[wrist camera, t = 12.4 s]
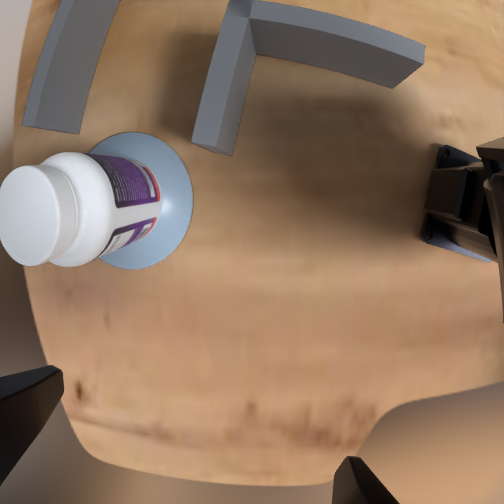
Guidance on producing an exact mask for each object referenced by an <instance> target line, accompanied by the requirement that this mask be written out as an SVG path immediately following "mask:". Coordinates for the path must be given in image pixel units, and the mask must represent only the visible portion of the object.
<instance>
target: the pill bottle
mask: <svg viewBox="0 0 504 504" xmlns="http://www.w3.org/2000/svg"><path fill="white" fill-rule="evenodd" d="M162 205H163V196H162V190H161V186H160V183H159V181H158V179H157V177H156V175H155V174H154V172H153V171H152V170H151V169H150V168H149V167H148V166H146V165H145V164H143V163H142V162H140V161H137V160H134V159H129V158H123V157H114V156H106V155H98V154H90V153H81V152H62V153H58V154H55V155H53V156H51V157H49V158H47V159H46V160H45V161H43V162H42V163H41V164H40V165H27V166H21V167H18V168H16V169H14V170H13V171H12V172H11V173H10V174H9V175H8V176H7V177H6V178H5V180H4V181H3V183H2V185H1V187H0V240H1V242H2V244H3V246H4V248H5V250H6V251H7V253H8V254H9V255H10V256H11V257H12V258H13V259H14V260H15V261H17V262H18V263H20V264H22V265H26V266H35V265H39V264H42V263H45V262H47V261H49V262H51V263H53V264H55V265H58V266H62V267H76V266H80V265H83V264H86V263H89V262H91V261H93V260H95V259H97V258H99V257H102V256H104V255H106V254H108V253H111V252H113V251H115V250H117V249H120V248H122V247H124V246H127V245H129V244H131V243H133V242H136V241H138V240H140V239H141V238H143V237H145V236H146V235H147V234H149V233H150V232H151V231H152V229H153V228H154V227H155V225H156V224H157V222H158V220H159V217H160V215H161V211H162Z"/></svg>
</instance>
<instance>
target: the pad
mask: <svg viewBox="0 0 504 504" xmlns="http://www.w3.org/2000/svg"><path fill="white" fill-rule="evenodd" d="M90 154H98V155H106V156H114V157H123V158H129V159H134V160H137V161H140V162H142V163H143V164H145V165H146V166H148V167H149V168H150V169H151V170H152V171H153V172H154V174H155V175H156V177H157V179H158V181H159V183H160V186H161V190H162V196H163V205H162V211H161V215H160V217H159V220H158V222H157V224H156V225H155V227H154V228H153V229H152V231H151V232H150V233H149V234H147V235H146V236H145V237H143V238H141V239H140V240H138V241H136V242H133V243H131V244H129V245H127V246H124V247H122V248H120V249H117V250H115V251H113V252H111V253H108V254H106V255H104V256H102V257H99V258H100V259H101V260H102V261H104V262H106V263H108V264H110V265H112V266H115V267H118V268H123V269H142V268H146V267H149V266H152V265H154V264H157V263H158V262H160V261H162V260H163V259H165V258H166V257H167V256H169V255H170V254H171V253H172V252H173V251H174V250H175V249H176V248H177V247H178V245H179V244H180V242H181V241H182V239H183V238H184V236H185V234H186V232H187V229H188V227H189V224H190V221H191V217H192V211H193V190H192V184H191V180H190V176H189V174H188V171H187V169H186V167H185V165H184V163H183V161H182V160H181V158H180V157H179V156H178V154H177V153H176V152H175V151H174V150H173V149H172V148H171V147H170V146H169V145H168V144H166V143H165V142H164V141H162V140H160V139H158V138H156V137H153V136H151V135H148V134H144V133H138V132H128V133H121V134H117V135H114V136H112V137H109V138H107V139H106V140H104V141H102V142H101V143H99V144H98V145H97V146H96V147H94V148H93V149H92V150H91V151H90Z"/></svg>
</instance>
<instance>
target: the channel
mask: <svg viewBox="0 0 504 504" xmlns="http://www.w3.org/2000/svg"><path fill="white" fill-rule="evenodd" d="M119 2H120V0H62V1H61V4H60V6H59V8H58V10H57V13H56V15H55V18H54V20H53V22H52V25H51V28H50V30H49V33H48V35H47V38H46V41H45V44H44V46H43V49H42V52H41V55H40V58H39V61H38V64H37V67H36V71H35V74H34V77H33V81H32V85H31V88H30V92H29V96H28V100H27V104H26V108H25V112H24V117H23V121H22V126H26V127H33V128H40V129H46V130H52V131H58V132H64V133H73V134H79V132H80V127H81V123H82V118H83V114H84V110H85V105H86V101H87V98H88V94H89V90H90V86H91V83H92V79H93V76H94V72H95V69H96V66H97V63H98V59H99V56H100V53H101V50H102V47H103V44H104V41H105V38H106V36H107V33H108V30H109V27H110V25H111V22H112V20H113V17H114V14H115V12H116V9H117V7H118V5H119ZM256 54H258V55H264V56H270V57H275V58H281V59H286V60H291V61H295V62H300V63H305V64H309V65H313V66H318V67H322V68H326V69H330V70H333V71H337V72H341V73H345V74H348V75H352V76H355V77H358V78H362V79H365V80H368V81H371V82H374V83H377V84H380V85H383V86H386V87H389V88H392V89H393V88H394V87H396V86H397V85H398V84H399V83H401V82H402V81H403V80H404V79H406V78H407V77H408V76H409V75H411V74H412V73H413V72H414V71H416V70H417V69H418V68H419V67H421V66H422V65H423V64H424V54H425V45H423V44H421V43H419V42H416V41H414V40H411V39H409V38H406V37H403V36H401V35H398V34H395V33H393V32H390V31H387V30H384V29H381V28H378V27H375V26H372V25H369V24H366V23H362V22H359V21H355V20H352V19H348V18H345V17H341V16H337V15H333V14H329V13H325V12H321V11H316V10H312V9H307V8H302V7H297V6H291V5H286V4H280V3H273V2H266V1H259V0H229V3H228V6H227V9H226V13H225V16H224V19H223V22H222V25H221V29H220V32H219V35H218V39H217V42H216V46H215V49H214V53H213V56H212V60H211V63H210V67H209V71H208V74H207V78H206V82H205V86H204V90H203V94H202V98H201V102H200V106H199V110H198V114H197V118H196V122H195V127H194V131H193V135H192V140H191V142H192V143H194V144H196V145H198V146H201V147H203V148H205V149H207V150H209V151H211V152H215V153H220V154H226V155H231V156H232V154H233V150H234V145H235V141H236V136H237V132H238V128H239V123H240V119H241V115H242V110H243V106H244V102H245V98H246V93H247V89H248V85H249V81H250V77H251V73H252V69H253V65H254V61H255V57H256Z"/></svg>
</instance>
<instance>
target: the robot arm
mask: <svg viewBox="0 0 504 504" xmlns="http://www.w3.org/2000/svg"><path fill="white" fill-rule="evenodd" d="M476 149H477V152H478V155H479V157H480V158H481V160H480V159H478V158H476V157H474V156H472V155H469V154H467V153H465V152H463V151H460V150H458V149H456V148H454V147H451V146H449V145H443V146H441V147H440V148H439V150H438V155H437V161H436V166H435V170H433V171H432V174H431V179H430V184H429V189H428V193H427V198H426V202H425V207H424V208H425V211H426V213H425V217H424V221H423V225H422V229H421V233H420V237H421V240H422V241H423V242H425V243H427V244H431V245H434V246H437V247H441V248H444V249H447V250H451V251H454V252H457V253H460V254H464V255H467V256H470V257H473V258H476V259H479V260H483V261H486V262H491V261H495V262H497V263H498V265H499V273H500V282H501V293H502V306H503V323H504V137H502V138H499V139H497V140H494V141H491V142H488V143H485V144H482V145H479V146H476ZM444 150H447V152H448V155H447V156H445V154H444ZM428 232H430V237H429V238H428V239H427V238H426V234H427V233H428ZM63 393H64V382H63V372H62V370H61V369H59V368H57V367H55V366H53V365H48V366H44V367H40V368H37V369H32V370H28V371H24V372H20V373H16V374H12V375H7V376H3V377H0V486H1V484H2V483H3V481H4V480H5V479H6V477H7V476H8V475H9V473H10V472H11V470H12V469H13V468H14V466H15V465H16V463H17V462H18V461H19V460H20V458H21V457H22V455H23V454H24V453H25V451H26V450H27V449H28V447H29V446H30V445H31V443H32V442H33V441H34V440H35V438H36V437H37V436H38V434H39V433H40V432H41V430H42V429H43V427H44V426H45V424H46V422H47V421H48V419H49V417H50V415H51V414H52V412H53V411H54V409H55V407H56V406H57V404H58V402H59V401H60V399H61V397H62V396H63ZM332 504H399V503H398V501H397V500H396V499H395V498H394V497H393V495H392V494H391V493H390V492H389V491H388V490H387V488H386V487H385V486H384V485H383V484H382V483H381V481H379V479H378V478H377V477H376V476H375V474H374V473H373V472H372V471H371V470H370V468H369V467H368V466H367V465H366V464H365V463H364V461H363V460H362V459H361V458H360V457H355V456H347V457H346V458H345V459H344V460H343V462H342V463H341V465H340V466H339V468H338V469H337V470H336V472H335V475H334V484H333V495H332Z"/></svg>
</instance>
